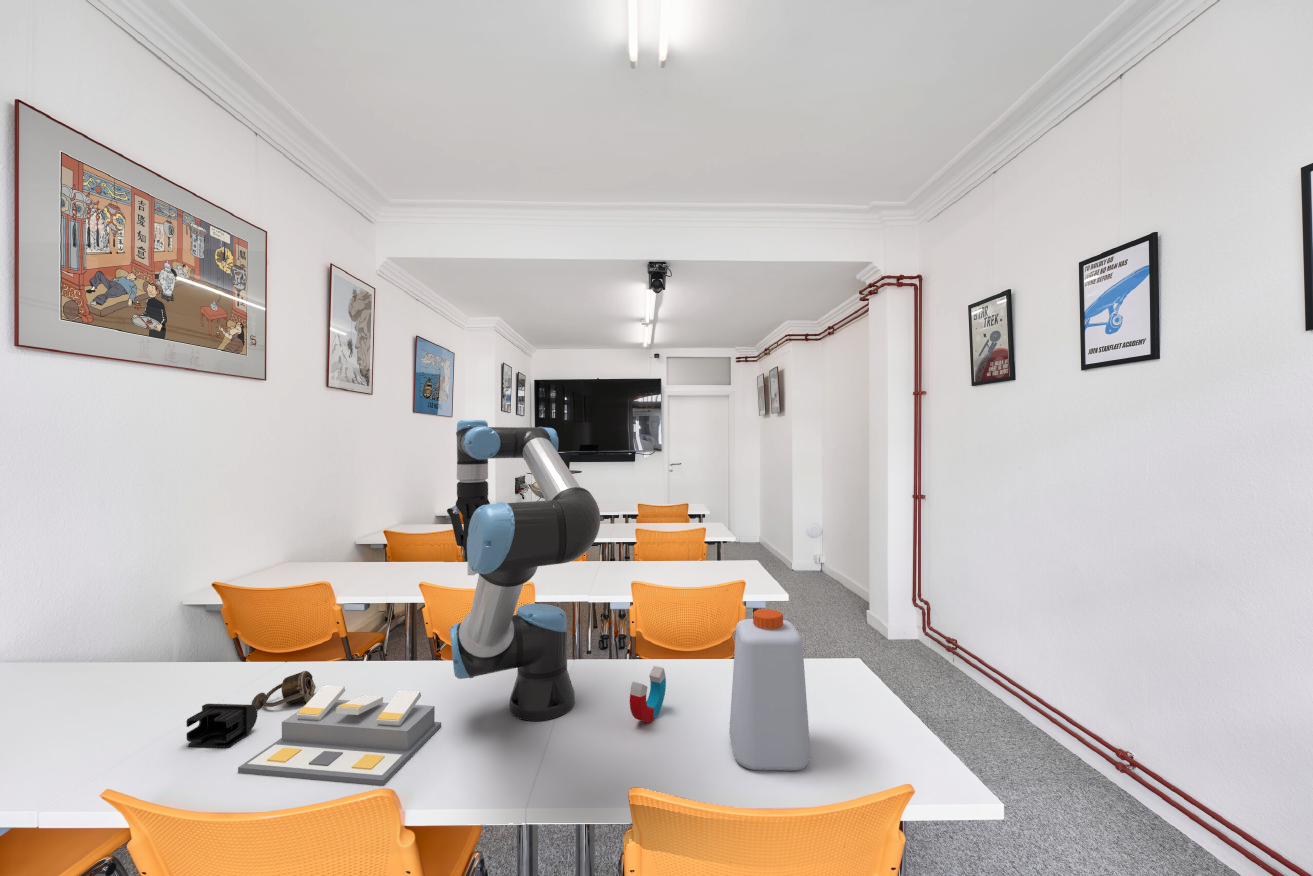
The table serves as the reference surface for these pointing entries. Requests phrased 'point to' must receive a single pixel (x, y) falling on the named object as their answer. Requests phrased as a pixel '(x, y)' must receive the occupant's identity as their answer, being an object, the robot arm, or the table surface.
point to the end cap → (221, 725)
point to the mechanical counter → (289, 690)
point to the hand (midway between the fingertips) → (472, 573)
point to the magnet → (656, 696)
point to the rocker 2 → (398, 708)
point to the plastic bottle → (769, 695)
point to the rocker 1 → (321, 702)
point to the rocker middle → (359, 705)
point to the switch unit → (345, 746)
